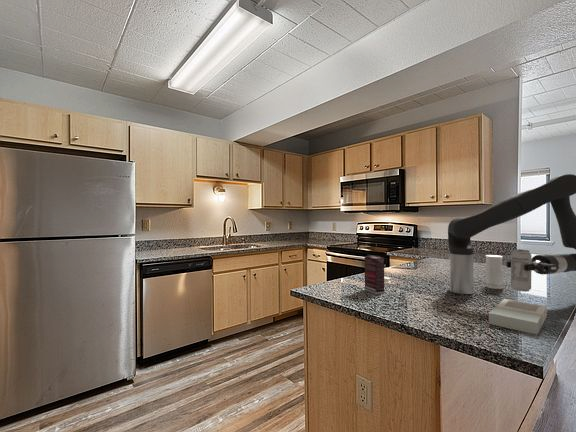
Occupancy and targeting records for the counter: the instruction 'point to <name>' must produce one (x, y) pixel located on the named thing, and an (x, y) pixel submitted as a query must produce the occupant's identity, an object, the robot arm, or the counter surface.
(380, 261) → the supplement box
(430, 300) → the counter surface
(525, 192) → the robot arm
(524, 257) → the energy drink can
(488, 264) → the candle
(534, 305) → the socket block
